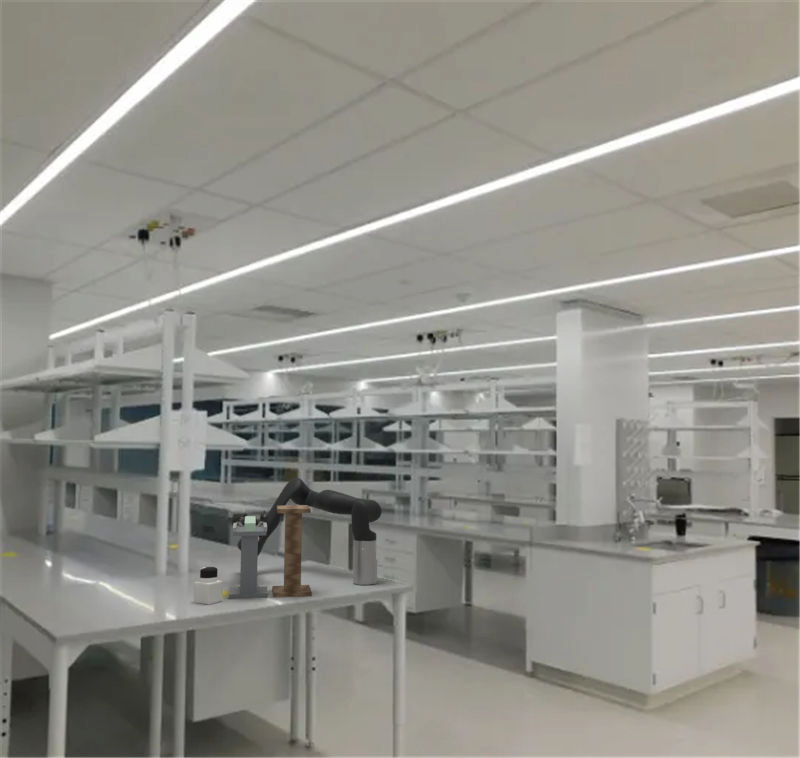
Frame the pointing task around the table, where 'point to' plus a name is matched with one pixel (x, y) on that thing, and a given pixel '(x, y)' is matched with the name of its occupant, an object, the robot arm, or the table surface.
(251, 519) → the slide box
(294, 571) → the brown pedestal stand
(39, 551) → the table surface
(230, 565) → the table surface
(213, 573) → the medicine bottle
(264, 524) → the gray pedestal stand
